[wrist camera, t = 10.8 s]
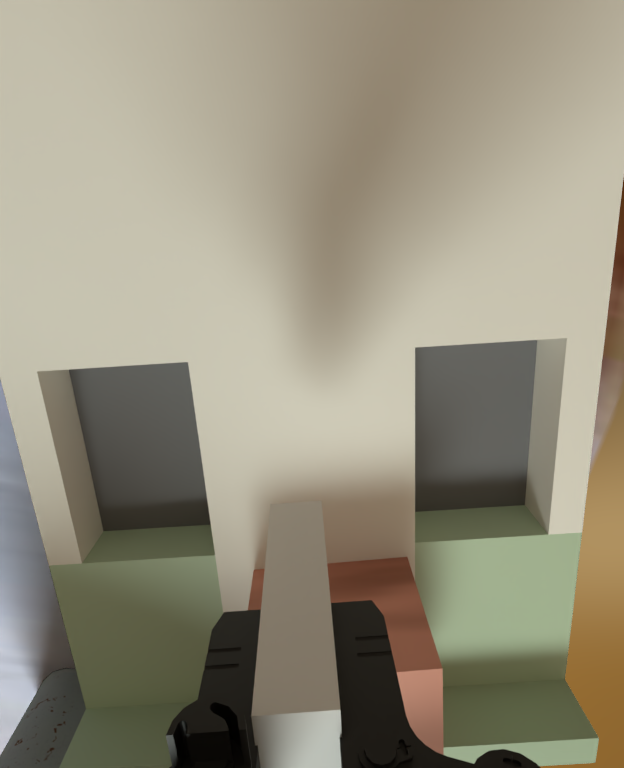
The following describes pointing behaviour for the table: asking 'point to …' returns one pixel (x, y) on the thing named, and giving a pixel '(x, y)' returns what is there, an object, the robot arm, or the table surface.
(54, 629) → the table surface
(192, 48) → the box
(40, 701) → the flask
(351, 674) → the robot arm
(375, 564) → the block
